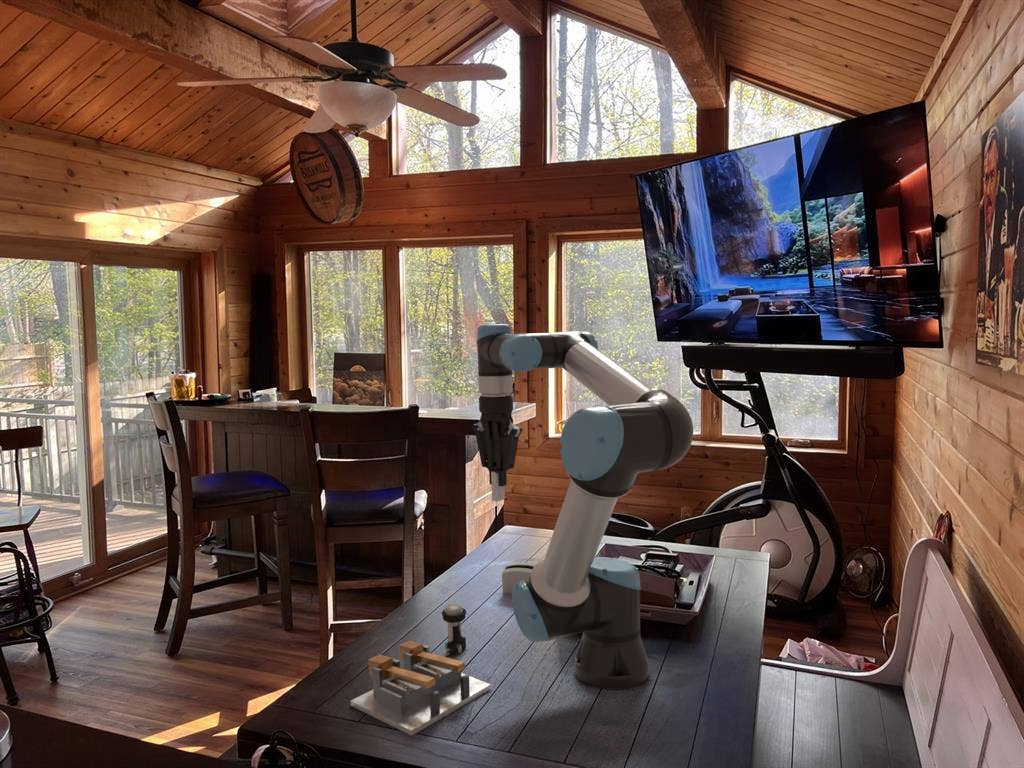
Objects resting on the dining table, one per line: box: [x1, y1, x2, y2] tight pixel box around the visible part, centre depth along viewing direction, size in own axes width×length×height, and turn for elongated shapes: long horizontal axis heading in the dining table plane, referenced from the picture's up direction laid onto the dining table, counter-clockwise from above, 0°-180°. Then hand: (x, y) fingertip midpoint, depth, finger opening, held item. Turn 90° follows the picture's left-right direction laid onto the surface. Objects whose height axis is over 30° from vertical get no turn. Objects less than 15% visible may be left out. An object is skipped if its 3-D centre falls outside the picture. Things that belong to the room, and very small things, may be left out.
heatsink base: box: [350, 643, 492, 737], centre depth 148 cm, size 17×21×7 cm
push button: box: [441, 603, 467, 657], centre depth 167 cm, size 7×5×10 cm
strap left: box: [368, 654, 435, 688], centre depth 145 cm, size 16×3×3 cm, turn 50°
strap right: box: [398, 640, 466, 672], centre depth 152 cm, size 16×3×3 cm, turn 50°
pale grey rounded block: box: [501, 562, 537, 595], centre depth 200 cm, size 17×5×10 cm, turn 63°
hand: (498, 499), depth 170 cm, fingers closed
